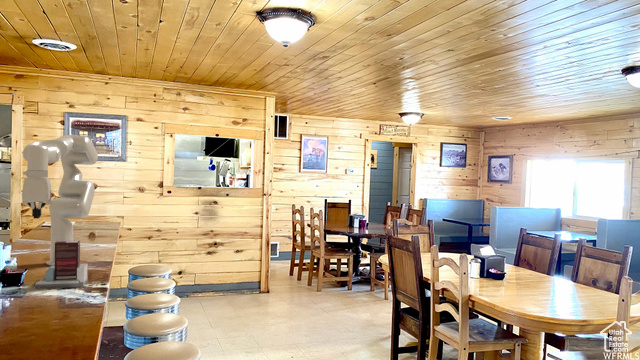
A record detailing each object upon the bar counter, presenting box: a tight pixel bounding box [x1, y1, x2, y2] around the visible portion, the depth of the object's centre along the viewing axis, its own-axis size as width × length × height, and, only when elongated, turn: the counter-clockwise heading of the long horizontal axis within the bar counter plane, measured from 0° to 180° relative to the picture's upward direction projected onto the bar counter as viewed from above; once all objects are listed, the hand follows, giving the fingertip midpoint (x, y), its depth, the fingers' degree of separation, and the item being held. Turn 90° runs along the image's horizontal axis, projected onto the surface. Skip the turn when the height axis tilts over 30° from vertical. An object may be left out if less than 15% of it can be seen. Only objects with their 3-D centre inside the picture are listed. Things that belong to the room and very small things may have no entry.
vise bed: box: [34, 263, 89, 289], centre depth 191 cm, size 10×17×8 cm, turn 107°
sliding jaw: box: [45, 264, 55, 281], centre depth 194 cm, size 16×2×5 cm, turn 17°
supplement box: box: [55, 240, 81, 281], centre depth 192 cm, size 9×5×16 cm, turn 106°
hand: (36, 218), depth 200 cm, fingers closed
